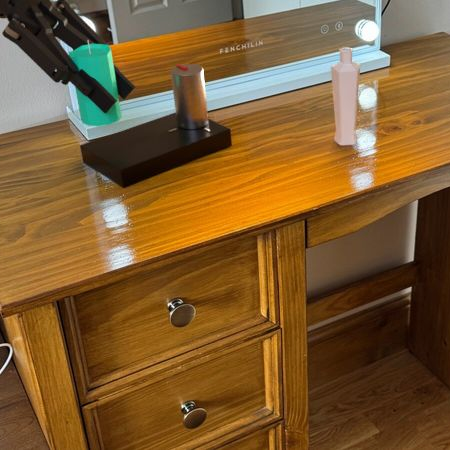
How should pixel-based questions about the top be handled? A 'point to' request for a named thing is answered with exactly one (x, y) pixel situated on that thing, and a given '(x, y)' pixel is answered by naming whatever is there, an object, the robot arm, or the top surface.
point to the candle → (104, 73)
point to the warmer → (152, 149)
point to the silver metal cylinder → (189, 96)
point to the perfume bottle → (345, 97)
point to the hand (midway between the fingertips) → (120, 99)
